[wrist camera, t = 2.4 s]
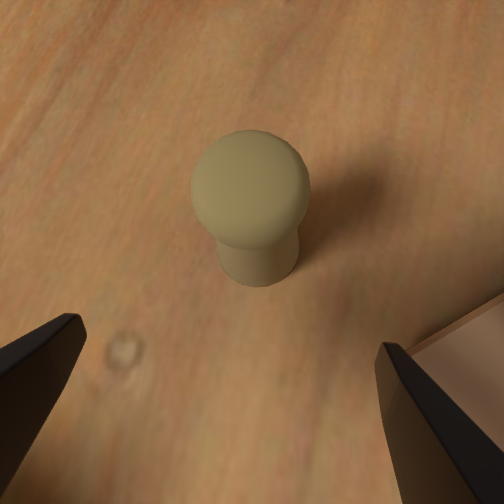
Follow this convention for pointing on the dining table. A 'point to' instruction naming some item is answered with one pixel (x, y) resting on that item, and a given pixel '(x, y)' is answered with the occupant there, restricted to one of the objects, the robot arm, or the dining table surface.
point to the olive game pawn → (252, 204)
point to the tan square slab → (471, 365)
